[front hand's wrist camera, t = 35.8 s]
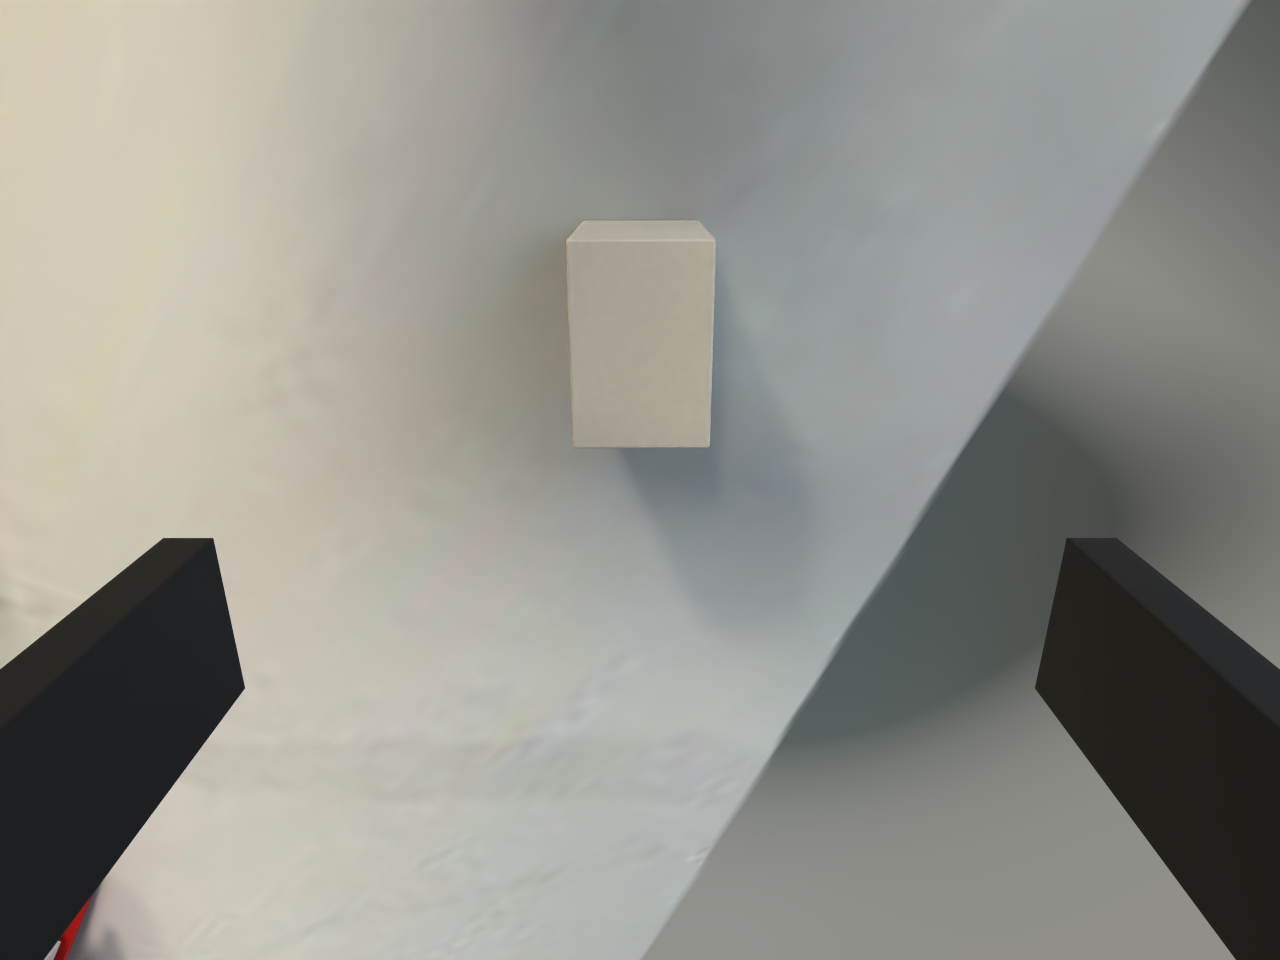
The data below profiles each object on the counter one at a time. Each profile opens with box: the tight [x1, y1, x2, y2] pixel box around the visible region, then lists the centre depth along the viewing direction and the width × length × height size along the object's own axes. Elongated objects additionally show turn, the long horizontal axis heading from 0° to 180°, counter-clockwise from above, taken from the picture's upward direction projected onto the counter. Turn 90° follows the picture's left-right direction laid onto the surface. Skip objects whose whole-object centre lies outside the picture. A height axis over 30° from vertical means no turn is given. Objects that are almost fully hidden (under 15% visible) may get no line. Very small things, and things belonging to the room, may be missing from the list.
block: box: [566, 220, 716, 448], centre depth 34 cm, size 5×8×9 cm
